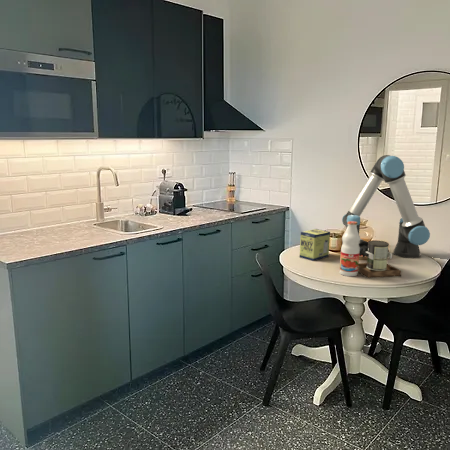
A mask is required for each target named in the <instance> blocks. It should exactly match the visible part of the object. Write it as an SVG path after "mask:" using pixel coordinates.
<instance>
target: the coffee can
mask: <svg viewBox="0 0 450 450" xmlns="http://www.w3.org/2000/svg"><path fill="white" fill-rule="evenodd" d="M367 242H368V252H370V253H372V254H374V256H373V260H372V259H370V258H368V257H366V258H367V259H366V263H367V268H368V269H370V270H374V271H384V270H386V267H387V264H388V257H387V256H388V250H389V242H387V241H385V240H384V241H383V240H377V239H376V240H369V241H367Z"/></svg>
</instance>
